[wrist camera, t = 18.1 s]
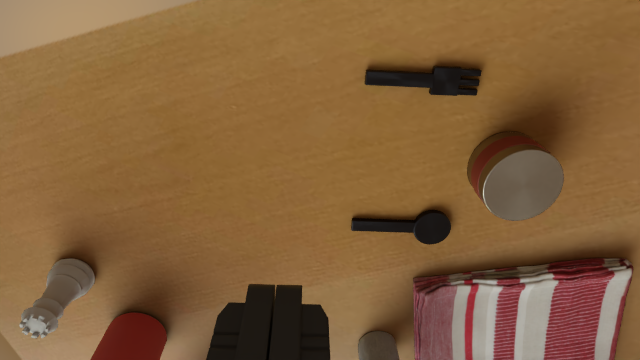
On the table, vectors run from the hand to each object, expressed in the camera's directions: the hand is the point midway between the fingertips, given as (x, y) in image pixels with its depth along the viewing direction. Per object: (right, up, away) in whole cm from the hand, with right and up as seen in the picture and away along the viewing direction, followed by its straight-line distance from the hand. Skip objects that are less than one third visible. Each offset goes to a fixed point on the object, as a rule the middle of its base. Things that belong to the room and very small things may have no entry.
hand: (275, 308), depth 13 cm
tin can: (+19, +5, +30) cm, 36 cm away
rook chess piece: (-25, -6, +35) cm, 44 cm away
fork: (+10, +12, +26) cm, 31 cm away
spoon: (+9, -1, +33) cm, 34 cm away
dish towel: (+24, -13, +39) cm, 48 cm away
